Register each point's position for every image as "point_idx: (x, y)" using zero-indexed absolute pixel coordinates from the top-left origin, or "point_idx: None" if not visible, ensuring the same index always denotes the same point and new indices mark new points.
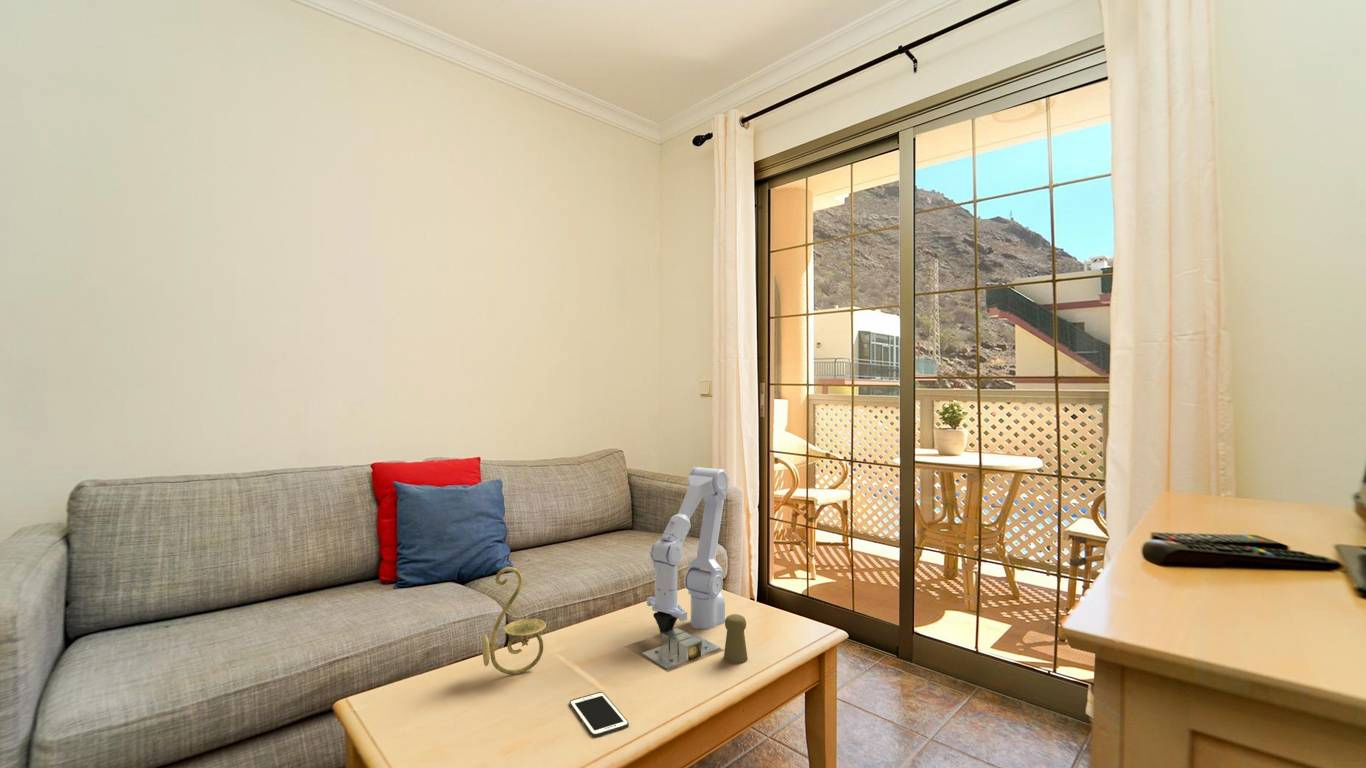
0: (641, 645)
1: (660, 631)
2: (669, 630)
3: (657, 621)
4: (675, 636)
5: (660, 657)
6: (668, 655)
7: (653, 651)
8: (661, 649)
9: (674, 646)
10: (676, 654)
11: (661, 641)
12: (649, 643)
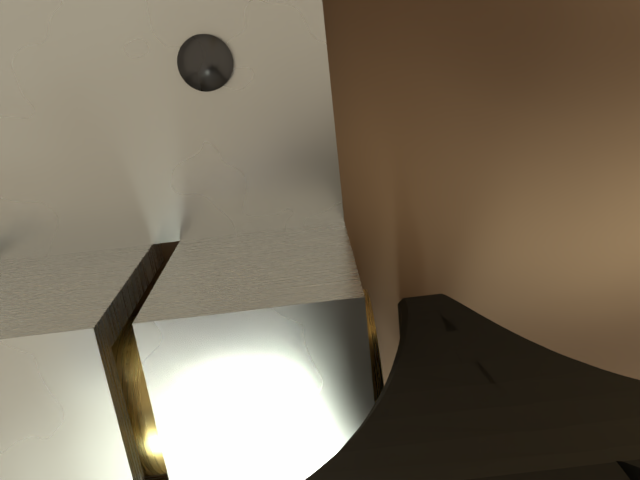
0: (584, 18)
1: (489, 333)
2: None
3: (625, 399)
4: (86, 424)
5: (10, 15)
6: (25, 153)
7: (250, 30)
8: (247, 166)
9: (10, 292)
10: (6, 258)
11: (507, 307)
12: (559, 148)
